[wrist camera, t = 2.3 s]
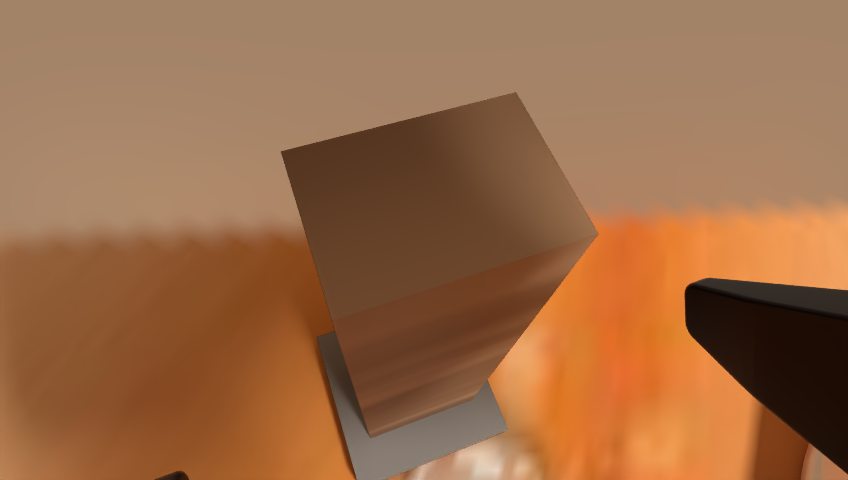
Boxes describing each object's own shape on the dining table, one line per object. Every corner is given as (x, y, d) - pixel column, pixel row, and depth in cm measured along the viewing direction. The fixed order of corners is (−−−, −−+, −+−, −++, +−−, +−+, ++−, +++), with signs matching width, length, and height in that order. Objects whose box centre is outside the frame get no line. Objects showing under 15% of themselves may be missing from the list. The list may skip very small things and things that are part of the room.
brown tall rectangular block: (503, 432, 17) (703, 303, 6) (360, 489, 16) (292, 458, 5) (448, 300, 19) (525, 24, 8) (319, 343, 18) (207, 96, 7)
